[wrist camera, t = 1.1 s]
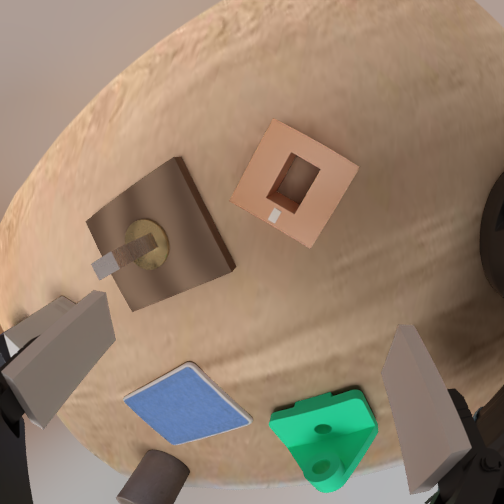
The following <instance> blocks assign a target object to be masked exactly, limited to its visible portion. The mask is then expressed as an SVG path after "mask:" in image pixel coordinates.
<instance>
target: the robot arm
mask: <svg viewBox="0 0 504 504" xmlns="http://www.w3.org/2000/svg"><path fill="white" fill-rule="evenodd" d="M480 253H481V260H482V265H483V269H484V272H485V274H486V277H487V279H488V281H489V283H490V284H491V286H492V287H493V288H494V289H495V290H496V291H497V292H498V293H499V294H500V295H501V296H502V297H503V298H504V173H503V174H502V175H501V176H500V178H499V179H498V180H497V182H496V183H495V185H494V187H493V189H492V191H491V193H490V195H489V198H488V200H487V203H486V206H485V209H484V213H483V218H482V224H481V232H480ZM115 340H116V338H115V333H114V329H113V325H112V320H111V316H110V311H109V306H108V301H107V296H106V292H101V291H96V290H93V291H92V292H91V293H90V294H88V295H87V296H86V297H85V298H83V299H82V300H81V301H80V302H79V303H77V304H76V305H75V306H74V307H73V308H71V309H70V310H69V311H68V312H67V313H65V314H64V315H63V316H62V317H61V318H60V319H58V320H57V321H56V322H55V323H54V324H53V325H51V326H50V327H49V328H48V329H47V330H46V331H45V332H43V333H42V334H41V335H39V336H37V337H35V338H33V339H31V340H30V341H28V342H27V343H26V344H25V345H24V346H23V348H21V349H20V350H18V351H17V353H15V354H14V355H13V356H12V357H11V358H10V359H9V360H8V361H7V362H6V363H4V364H3V365H2V366H1V367H0V504H33V500H32V494H31V489H30V482H29V475H28V467H27V457H26V446H25V426H24V424H25V423H24V419H23V418H22V415H23V414H24V413H26V415H27V416H28V418H29V419H30V421H31V422H32V423H34V424H35V425H37V426H38V427H40V428H42V429H44V428H45V427H46V426H47V424H48V423H49V422H50V421H51V419H52V418H53V417H54V415H55V414H56V413H57V412H58V410H59V409H60V408H61V406H62V405H63V404H64V403H65V401H66V400H67V399H68V397H69V396H70V395H71V394H72V392H73V391H74V390H75V389H76V387H77V386H78V385H79V384H80V382H81V381H82V380H83V379H84V377H85V376H86V375H87V374H88V373H89V371H90V370H91V369H92V368H93V366H94V365H95V364H96V363H97V362H98V360H99V359H100V358H101V357H102V356H103V354H104V353H105V352H106V351H107V350H108V348H109V347H110V346H111V345H112V344H113V343H114V341H115ZM381 374H382V377H383V381H384V384H385V388H386V391H387V395H388V399H389V402H390V406H391V410H392V414H393V418H394V421H395V425H396V430H397V434H398V438H399V442H400V447H401V451H402V456H403V460H404V465H405V470H406V475H407V480H408V485H409V491H410V495H411V494H416V493H421V492H425V491H429V490H430V489H431V488H432V487H434V486H435V485H436V484H437V483H438V491H437V492H436V493H435V494H434V495H433V496H431V497H430V498H429V499H428V500H427V501H426V502H425V504H428V503H429V502H430V501H431V502H430V504H504V385H503V386H502V387H501V389H500V390H499V391H498V392H497V393H496V394H495V395H494V396H493V398H492V399H491V400H490V401H489V402H488V403H487V404H486V405H485V406H484V407H480V408H479V409H478V410H477V411H476V412H475V414H474V416H473V417H472V414H471V412H470V410H469V409H468V405H467V403H466V401H465V399H464V397H463V396H462V395H461V394H460V393H459V392H458V391H457V390H456V389H447V388H446V386H445V384H444V382H443V380H442V378H441V376H440V374H439V372H438V370H437V368H436V366H435V364H434V362H433V360H432V358H431V356H430V354H429V352H428V350H427V348H426V347H425V345H424V343H423V341H422V339H421V337H420V335H419V334H418V332H417V330H416V328H415V326H414V325H398V327H397V330H396V333H395V336H394V339H393V342H392V345H391V348H390V350H389V353H388V356H387V358H386V361H385V364H384V366H383V369H382V371H381Z"/></svg>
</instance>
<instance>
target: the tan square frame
mask: <svg viewBox="0 0 504 504" xmlns="http://www.w3.org/2000/svg"><path fill="white" fill-rule="evenodd" d="M296 155H297V156H299V157H301V158H302V159H304V160H306V161H308V162H309V163H311V164H313V165H315V166H316V167H318V168H320V171H319V173H318V175H317V176H316V178H315V180H314V181H313V183H312V185H311V187H310V188H309V190H308V192H307V194H306V195H305V197H304V199H303V200H302V202H301V204H300V205H299V204H298V203H296V202H294V201H292V200H291V199H289V198H287V197H286V196H284V195H282V194H280V193H279V192H277V189H278V188H279V186H280V184H281V182H282V180H283V179H284V177H285V175H286V173H287V171H288V170H289V168H290V166H291V164H292V163H293V161H294V159H295V157H296ZM359 168H360V167H359V166H357V165H356V164H354V163H353V162H351V161H349V160H348V159H346V158H344V157H343V156H341V155H340V154H338V153H336V152H334V151H333V150H331V149H329V148H328V147H326V146H324V145H322V144H321V143H319V142H317V141H315V140H314V139H312V138H310V137H308V136H306V135H305V134H303V133H301V132H299V131H297V130H295V129H293V128H292V127H290V126H288V125H286V124H284V123H282V122H280V121H278V120H276V119H274V118H273V119H272V121H271V123H270V125H269V127H268V129H267V130H266V132H265V134H264V136H263V138H262V140H261V141H260V143H259V145H258V147H257V149H256V151H255V153H254V154H253V156H252V158H251V160H250V162H249V164H248V166H247V168H246V170H245V171H244V173H243V175H242V177H241V179H240V181H239V183H238V185H237V187H236V189H235V191H234V193H233V195H232V197H231V199H230V202H232V203H234V204H235V205H237V206H239V207H240V208H242V209H244V210H246V211H247V212H249V213H251V214H253V215H254V216H256V217H258V218H259V219H261V220H263V221H265V222H266V223H268V224H270V225H271V226H273V227H275V228H276V229H278V230H280V231H282V232H283V233H285V234H287V235H288V236H290V237H292V238H293V239H295V240H297V241H298V242H300V243H302V244H303V245H305V246H307V247H308V248H310V249H311V247H312V246H313V244H314V242H315V241H316V239H317V238H318V236H319V234H320V233H321V231H322V230H323V228H324V226H325V225H326V223H327V222H328V220H329V218H330V217H331V215H332V213H333V212H334V210H335V208H336V207H337V205H338V204H339V202H340V200H341V199H342V197H343V195H344V194H345V192H346V190H347V188H348V187H349V185H350V183H351V182H352V180H353V178H354V177H355V175H356V173H357V171H358V170H359Z"/></svg>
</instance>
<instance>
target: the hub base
mask: <svg viewBox="0 0 504 504" xmlns="http://www.w3.org/2000/svg"><path fill="white" fill-rule="evenodd" d="M86 223H87V225H88V228H89V230H90V232H91V234H92V236H93V238H94V241H95V243H96V245H97V247H98V249H99V251H100V253H101V255H102V257H101V258H100V259H98V260H97V261H95V262H94V263H92V264H91V265H92V267H93V269H94V271H95V273H96V275H97V276H98V278H99V280H101V279H103V278H105V277H106V276H108V275H110V274H112V276H113V278H114V280H115V282H116V284H117V286H118V287H119V289H120V291H121V293H122V295H123V296H124V298H125V300H126V302H127V303H128V305H129V307H130V309H131V310H132V312H134V311H136V310H139V309H141V308H144V307H146V306H149V305H151V304H154V303H156V302H159V301H161V300H164V299H166V298H169V297H171V296H174V295H176V294H179V293H181V292H184V291H186V290H189V289H191V288H194V287H196V286H199V285H201V284H204V283H206V282H209V281H211V280H214V279H216V278H218V277H221V276H223V275H226V274H228V273H231V272H232V271H233V270H234V269H235V268H236V265H235V263H234V261H233V259H232V258H231V256H230V254H229V252H228V250H227V248H226V246H225V244H224V242H223V240H222V238H221V236H220V234H219V232H218V230H217V228H216V226H215V224H214V222H213V220H212V218H211V216H210V214H209V212H208V210H207V208H206V206H205V204H204V202H203V200H202V198H201V196H200V194H199V192H198V190H197V188H196V186H195V184H194V182H193V180H192V178H191V176H190V174H189V172H188V170H187V168H186V166H185V164H184V162H183V160H182V158H181V157H173V158H172V159H170V160H169V161H167V162H166V163H164V164H163V165H161V166H160V167H158V168H157V169H155V170H154V171H152V172H151V173H149V174H148V175H147V176H145V177H144V178H142V179H141V180H139V181H138V182H137V183H135V184H134V185H132V186H131V187H130V188H128V189H127V190H126V191H124V192H123V193H122V194H120V195H119V196H117V197H116V198H115V199H114V200H112V201H111V202H110V203H108V204H107V205H106V206H104V207H103V208H102V209H101V210H99V211H98V212H97V213H96V214H94V215H93V216H92V217H91V218H89V219H88V220H87V221H86Z"/></svg>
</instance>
